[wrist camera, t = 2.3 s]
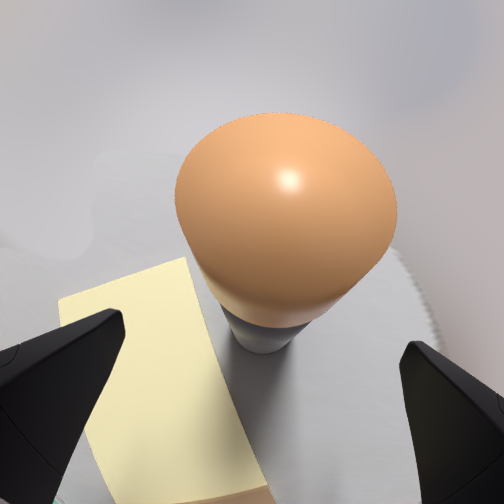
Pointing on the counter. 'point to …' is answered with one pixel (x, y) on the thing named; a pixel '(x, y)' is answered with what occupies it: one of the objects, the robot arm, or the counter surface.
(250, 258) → the ball
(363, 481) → the counter surface
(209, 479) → the legal pad
